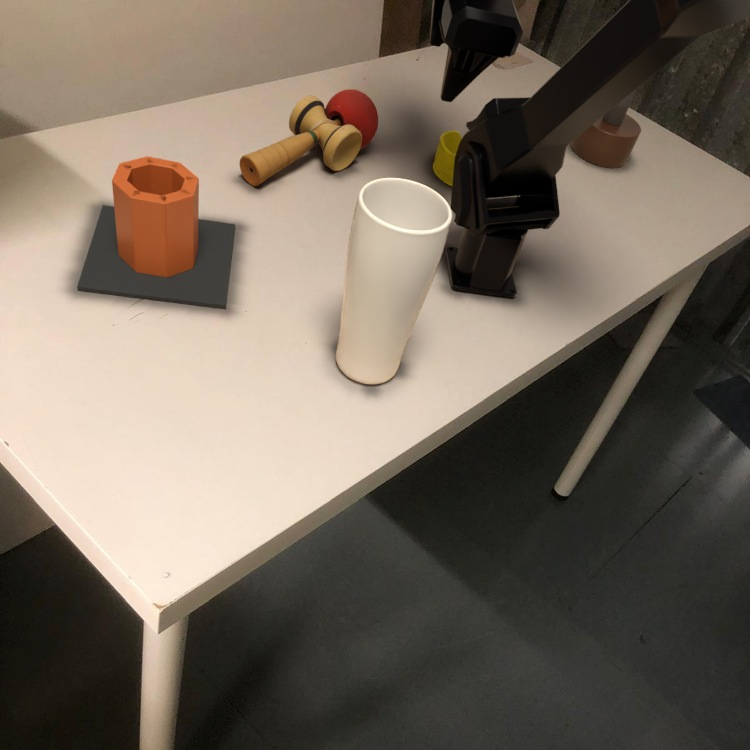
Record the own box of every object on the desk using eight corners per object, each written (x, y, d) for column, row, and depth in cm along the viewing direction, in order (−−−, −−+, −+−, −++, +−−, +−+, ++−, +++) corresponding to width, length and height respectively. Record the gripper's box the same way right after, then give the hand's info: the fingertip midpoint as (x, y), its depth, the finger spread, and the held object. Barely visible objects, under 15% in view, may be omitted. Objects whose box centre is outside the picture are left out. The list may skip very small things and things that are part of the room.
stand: (633, 172, 94) (666, 104, 87) (576, 162, 93) (606, 92, 86) (618, 141, 99) (649, 74, 92) (564, 131, 97) (592, 63, 91)
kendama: (282, 218, 75) (396, 147, 84) (273, 156, 71) (396, 88, 79) (230, 193, 79) (345, 127, 87) (218, 133, 74) (342, 69, 82)
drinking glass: (357, 327, 66) (393, 165, 54) (420, 366, 64) (471, 209, 52) (309, 363, 62) (337, 197, 50) (375, 406, 60) (420, 246, 48)
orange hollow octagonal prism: (168, 224, 69) (166, 150, 63) (211, 262, 66) (212, 189, 61) (106, 244, 65) (98, 168, 60) (148, 284, 63) (144, 210, 58)
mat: (225, 309, 64) (225, 305, 63) (77, 290, 61) (76, 286, 61) (235, 227, 71) (235, 224, 71) (103, 208, 69) (102, 204, 68)
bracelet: (509, 193, 85) (519, 166, 82) (445, 192, 82) (453, 164, 80) (486, 158, 89) (495, 131, 86) (424, 155, 86) (431, 127, 84)
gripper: (393, -197, 62) (352, 2, 75) (416, -90, 53) (365, 115, 66) (517, -160, 64) (457, 25, 77) (559, -53, 55) (483, 137, 68)
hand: (440, 71), depth 72 cm, fingers open, 9 cm apart
